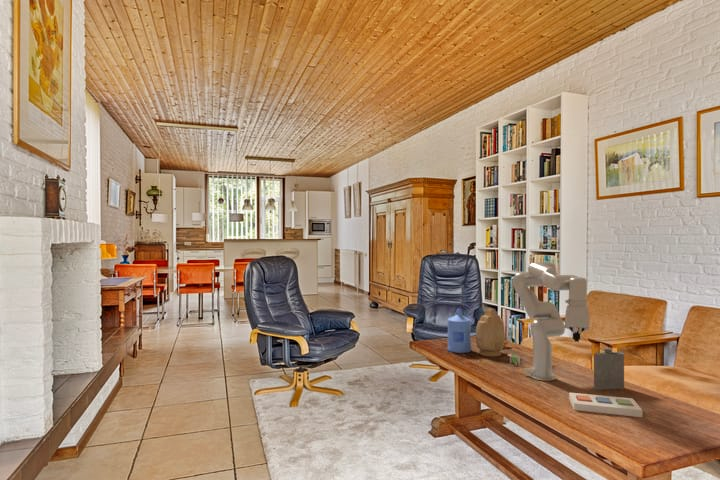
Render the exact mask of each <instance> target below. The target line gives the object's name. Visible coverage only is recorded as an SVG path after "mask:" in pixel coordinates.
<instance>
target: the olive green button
mask: <svg viewBox="0 0 720 480" xmlns="http://www.w3.org/2000/svg"><path fill="white" fill-rule="evenodd" d="M616 402H617V403H618V405H627V406H633V404H632V402H631V401H630V400H625V399H616Z"/></svg>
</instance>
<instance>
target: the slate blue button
mask: <svg viewBox="0 0 720 480" xmlns="http://www.w3.org/2000/svg"><path fill="white" fill-rule="evenodd" d="M596 400H597V402H598V403H607V404H612V402H611V400H610V399H609V398H604V397H596Z"/></svg>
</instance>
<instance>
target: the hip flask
mask: <svg viewBox="0 0 720 480" xmlns="http://www.w3.org/2000/svg"><path fill="white" fill-rule="evenodd" d="M603 351H604V352H596V353H595V352H594V353H593V389H594V390H595V391H602V390H603V391H604V390H615V389H616V390H617V389H618V390H620V389H621V390H623V389H625V353H624V352H620V351H618V352H617V351H613V348H612V347H604V348H603Z"/></svg>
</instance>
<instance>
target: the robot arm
mask: <svg viewBox="0 0 720 480" xmlns="http://www.w3.org/2000/svg"><path fill="white" fill-rule="evenodd" d="M512 284H513V288H514V291H515V292H516V294H517V295H518V297H519V298H520V300H521V302H522V305H523V306H524V307H523V308H524V309H525V311H526V312H525V313H526V314H527V316H528V317H529V318H530V319H531V320H533V321H532V322H531V323H530V330H531V335H532V336H531V337H532V367H530V368H528V367H524V368H523V372H525V373H526V374H529V377H530V378H532V379H534V380H538V381H542V382H544V381H546V382H548V381H549V382H550V381H554V380H556V376H555V375H554V374H553V344H552V342H551V341H550V339H549V337H559V336H563V335H564V334H565V332H566V329H568V330H570V331H571V332H572V340H573V341H574V342H575V343H576V342H577V343H579V342H580V341H581V334H582V333H583V332H584V331H588V330H590V310H589V307H588V305H587V290H588V288H587V287H588V281H587V279H586V278H585V277H581V276H578V275H574V274H560V275H559V274H558V272H557V267H556V265H555V263H553V262H550V261H536V262H532V263H530V264H529V265H528V268H527V271H522V272H521V271H520V272H518V273H516V274H514V276H513V277H512ZM543 286H544V287H545V288H548V289H550V290H552V291H568V299H566V300H565V302H564V303H565V304H567V305H566V309H565V315H564V316H565V317H564V320H563V319H562V317H561V314H560V313H559V310H558V309H557V307H556V305H555V304H554V303H553V302H551V301H541V300H539V298H538V296H537V294H536V293H535V292H534V291H533V290H532V289H531V287H532V288H533V287H535V288H536V287H543ZM529 287H530V288H529ZM576 328H577V331H576Z"/></svg>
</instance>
